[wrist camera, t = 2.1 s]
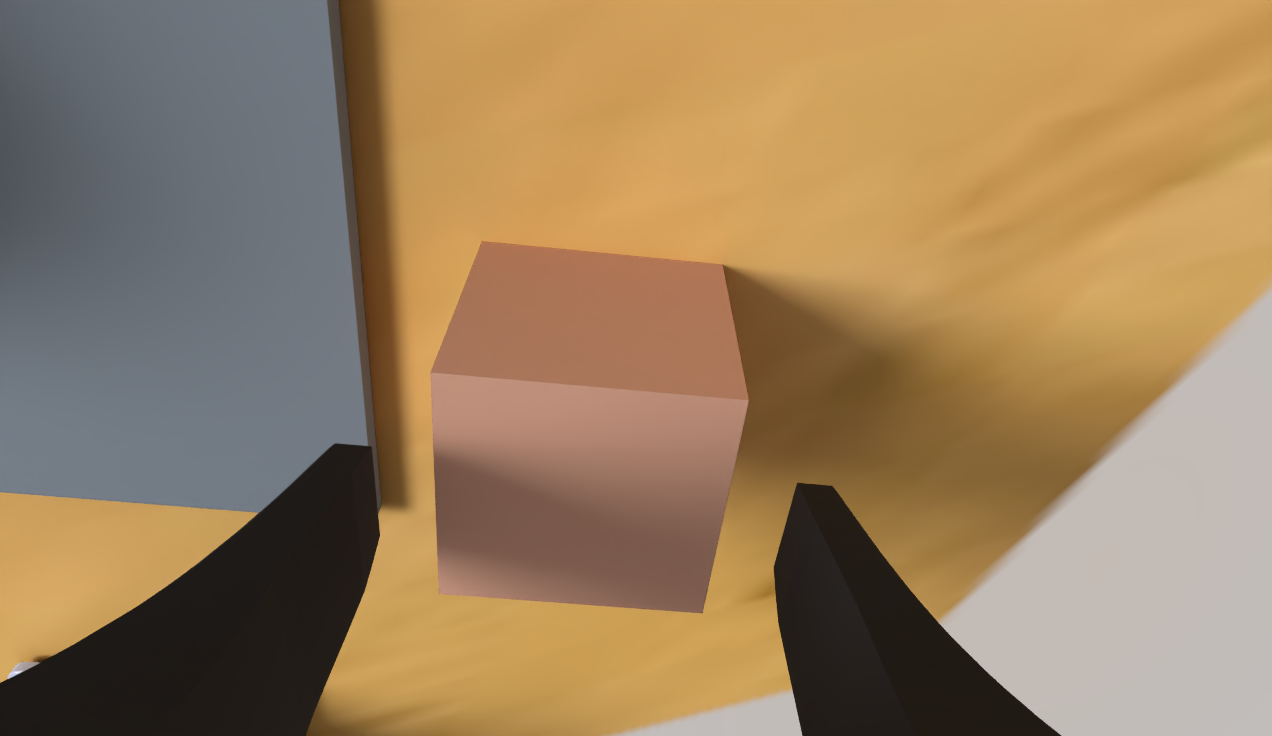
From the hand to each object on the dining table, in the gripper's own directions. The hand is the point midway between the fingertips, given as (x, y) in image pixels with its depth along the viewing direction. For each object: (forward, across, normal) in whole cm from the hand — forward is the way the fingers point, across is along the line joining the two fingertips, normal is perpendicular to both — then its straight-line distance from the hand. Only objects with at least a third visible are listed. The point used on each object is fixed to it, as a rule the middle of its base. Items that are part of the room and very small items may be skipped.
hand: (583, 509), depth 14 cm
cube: (+5, 0, 0) cm, 5 cm away
